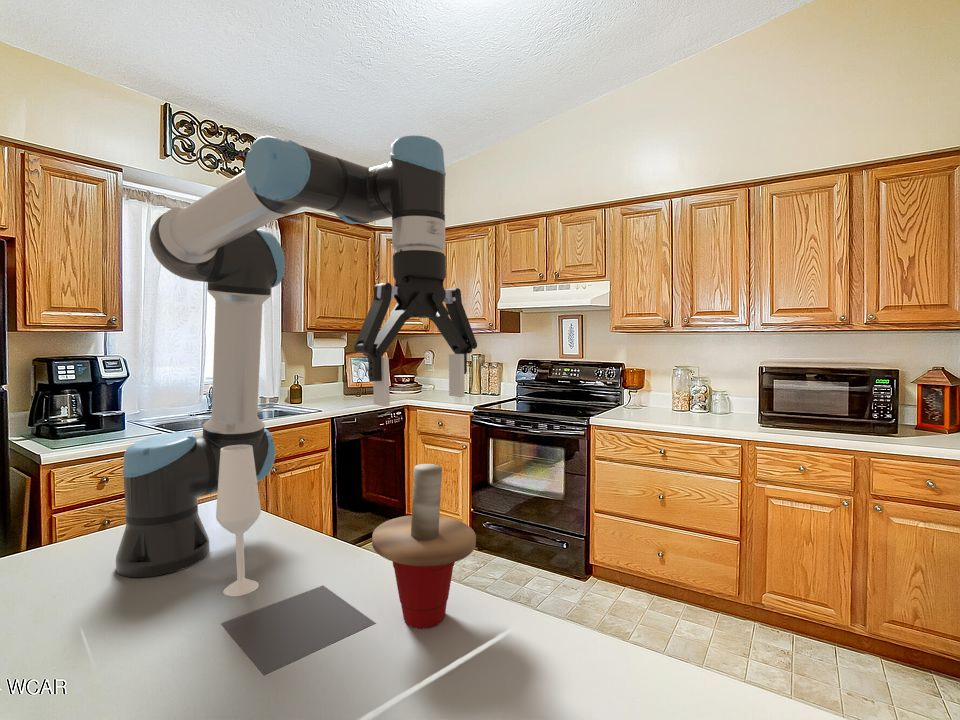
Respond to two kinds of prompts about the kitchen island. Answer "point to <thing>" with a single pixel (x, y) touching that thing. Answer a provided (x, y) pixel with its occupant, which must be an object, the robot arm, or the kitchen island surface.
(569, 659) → the kitchen island surface
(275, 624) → the mat
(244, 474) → the champagne flute
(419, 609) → the plastic cup
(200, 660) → the kitchen island surface
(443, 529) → the lid
